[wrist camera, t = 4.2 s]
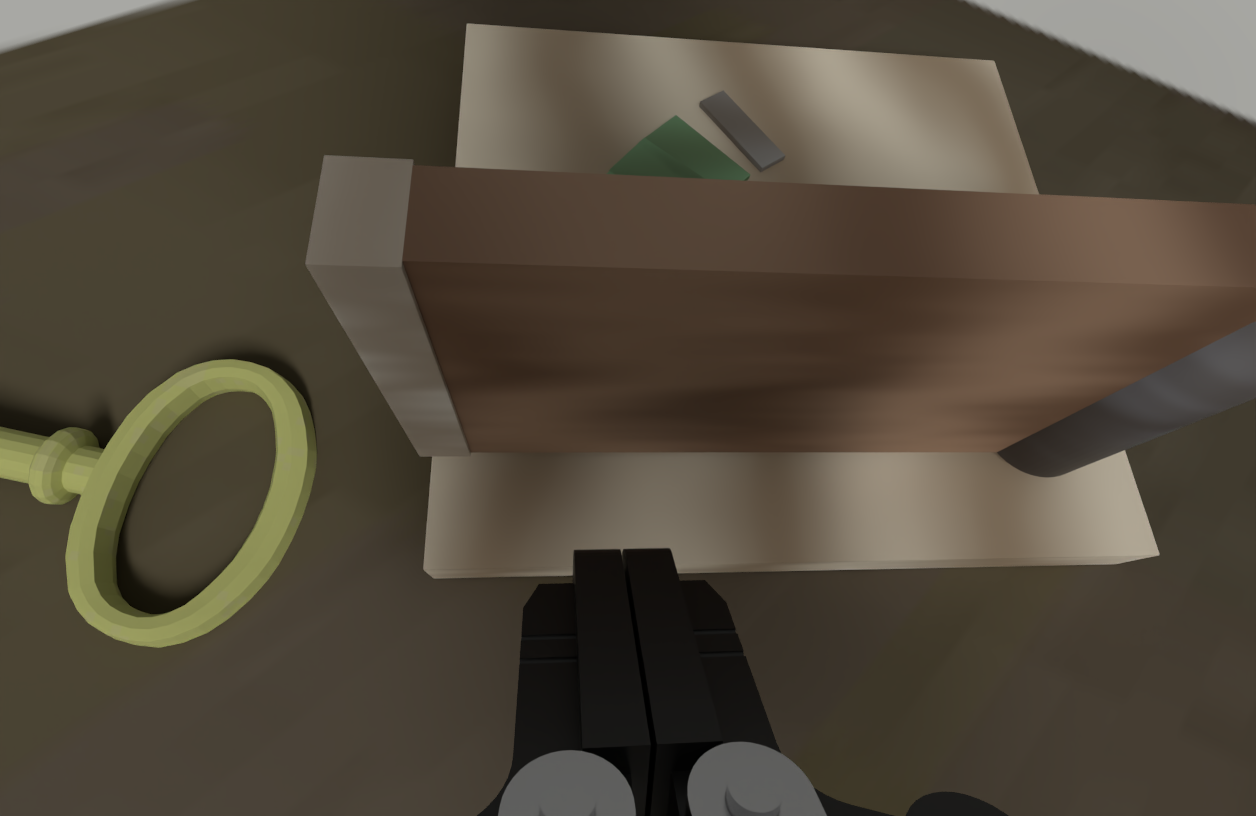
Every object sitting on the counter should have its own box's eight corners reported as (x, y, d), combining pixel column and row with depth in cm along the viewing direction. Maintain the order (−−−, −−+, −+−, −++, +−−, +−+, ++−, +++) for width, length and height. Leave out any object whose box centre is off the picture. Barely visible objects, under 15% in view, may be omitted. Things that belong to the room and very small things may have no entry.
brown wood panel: (417, 480, 16) (298, 304, 8) (427, 366, 17) (330, 122, 9) (1099, 477, 18) (1492, 333, 10) (1067, 375, 19) (1401, 179, 11)
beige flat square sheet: (433, 578, 17) (421, 568, 15) (471, 61, 24) (466, 18, 22) (1115, 563, 19) (1166, 553, 17) (970, 94, 26) (997, 56, 24)
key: (-173, 408, 17) (-267, 375, 15) (324, 369, 19) (298, 335, 17) (-267, 708, 15) (-394, 713, 13) (317, 629, 17) (286, 623, 15)
